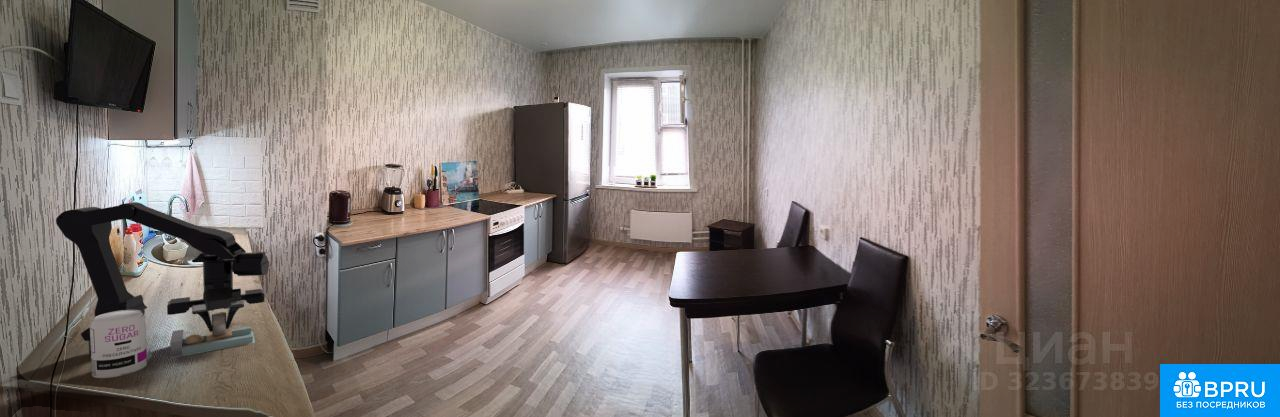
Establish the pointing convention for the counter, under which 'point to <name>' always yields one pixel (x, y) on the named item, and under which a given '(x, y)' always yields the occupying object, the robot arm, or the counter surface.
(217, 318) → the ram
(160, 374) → the counter surface
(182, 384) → the counter surface
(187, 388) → the counter surface
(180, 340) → the grey angular block
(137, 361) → the supplement can
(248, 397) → the counter surface
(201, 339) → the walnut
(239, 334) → the board
